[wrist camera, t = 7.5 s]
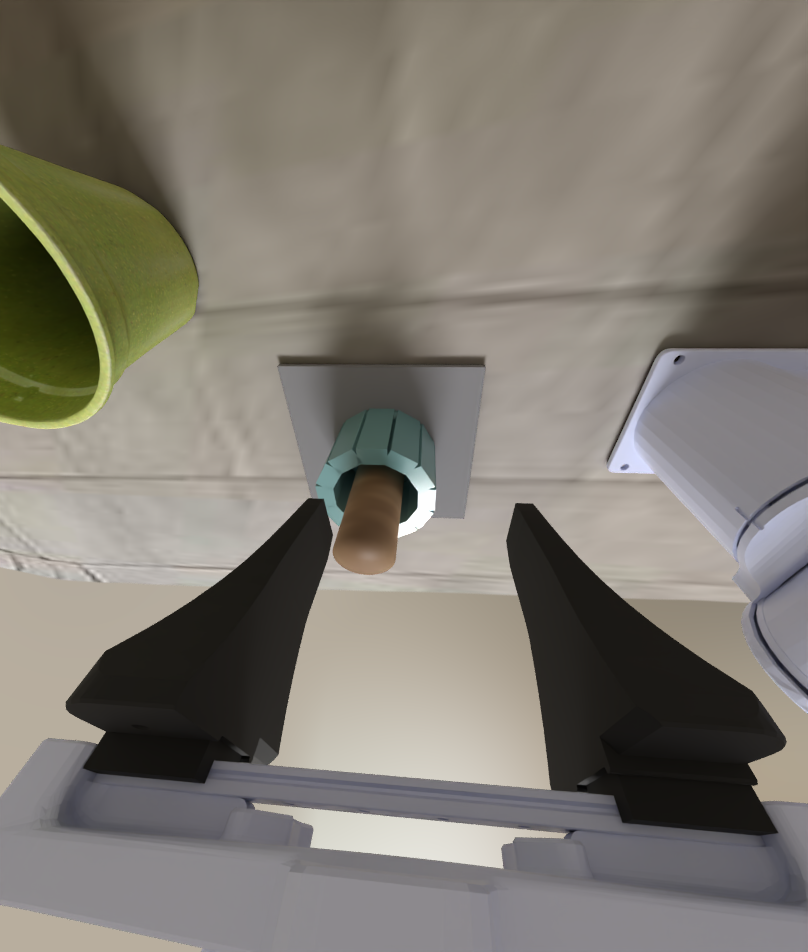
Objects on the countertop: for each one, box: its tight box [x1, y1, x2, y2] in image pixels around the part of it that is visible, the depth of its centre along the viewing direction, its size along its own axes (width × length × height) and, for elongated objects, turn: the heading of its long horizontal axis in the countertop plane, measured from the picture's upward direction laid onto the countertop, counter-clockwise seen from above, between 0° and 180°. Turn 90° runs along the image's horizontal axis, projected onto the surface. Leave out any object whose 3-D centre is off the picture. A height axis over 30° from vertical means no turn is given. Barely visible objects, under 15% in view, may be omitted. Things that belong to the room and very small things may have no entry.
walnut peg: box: [333, 464, 405, 575], centre depth 18 cm, size 3×3×8 cm
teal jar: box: [315, 408, 436, 537], centre depth 20 cm, size 7×7×5 cm
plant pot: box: [0, 145, 199, 429], centre depth 13 cm, size 9×9×9 cm
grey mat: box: [277, 364, 485, 519], centre depth 22 cm, size 12×12×1 cm
